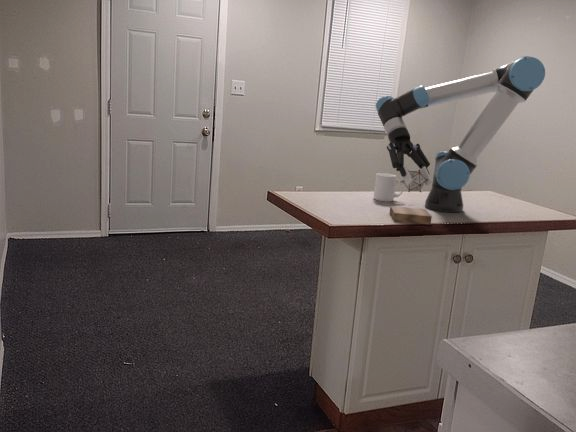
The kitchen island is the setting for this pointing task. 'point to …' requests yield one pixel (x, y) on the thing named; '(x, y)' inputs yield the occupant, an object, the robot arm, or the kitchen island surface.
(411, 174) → the game die
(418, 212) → the pedestal
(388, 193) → the mug
